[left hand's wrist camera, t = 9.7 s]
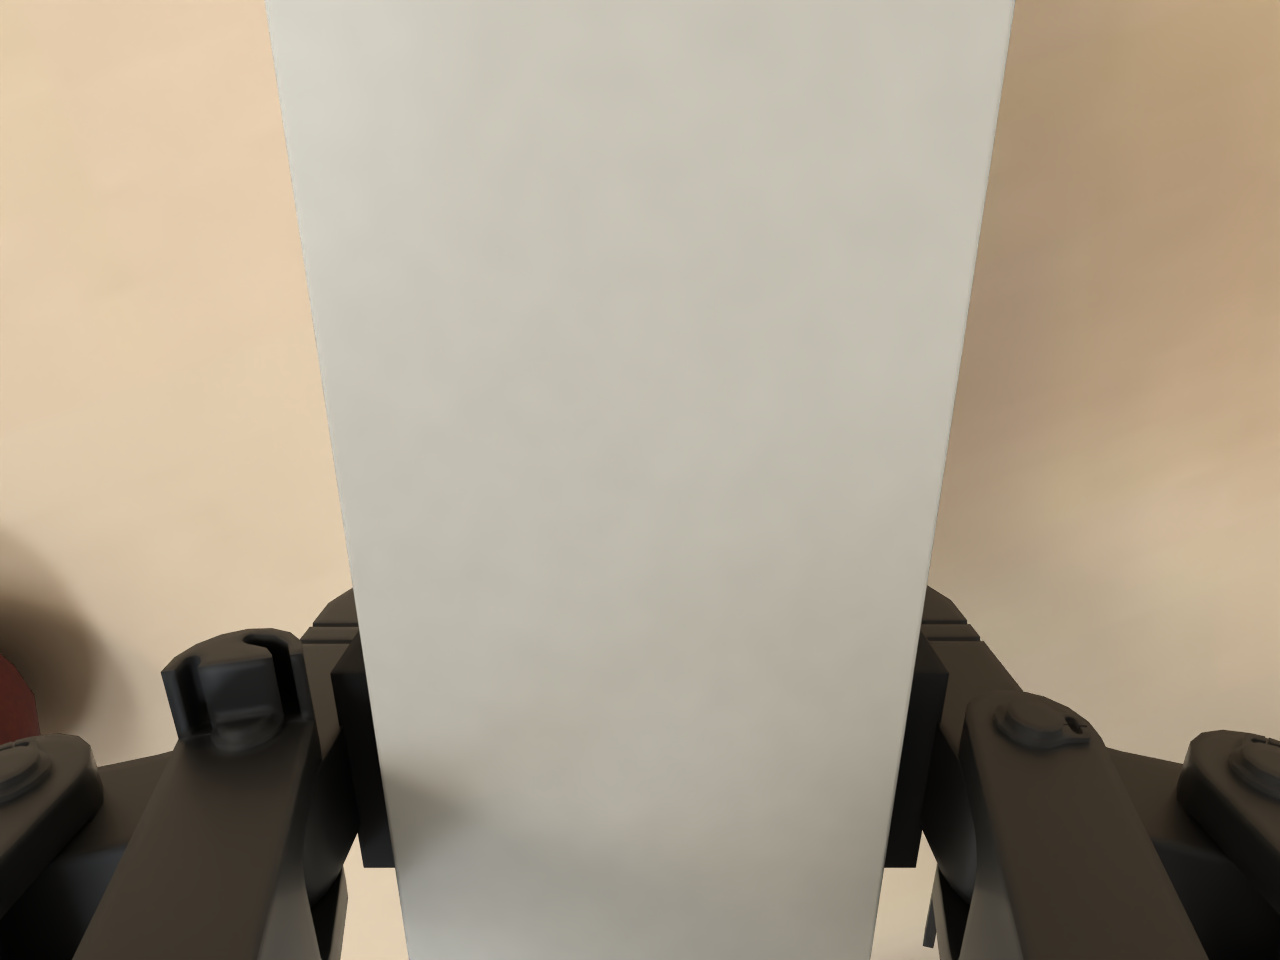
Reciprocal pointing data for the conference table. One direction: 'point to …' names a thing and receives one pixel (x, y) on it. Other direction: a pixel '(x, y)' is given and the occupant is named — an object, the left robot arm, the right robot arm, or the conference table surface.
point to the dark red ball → (16, 705)
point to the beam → (639, 441)
